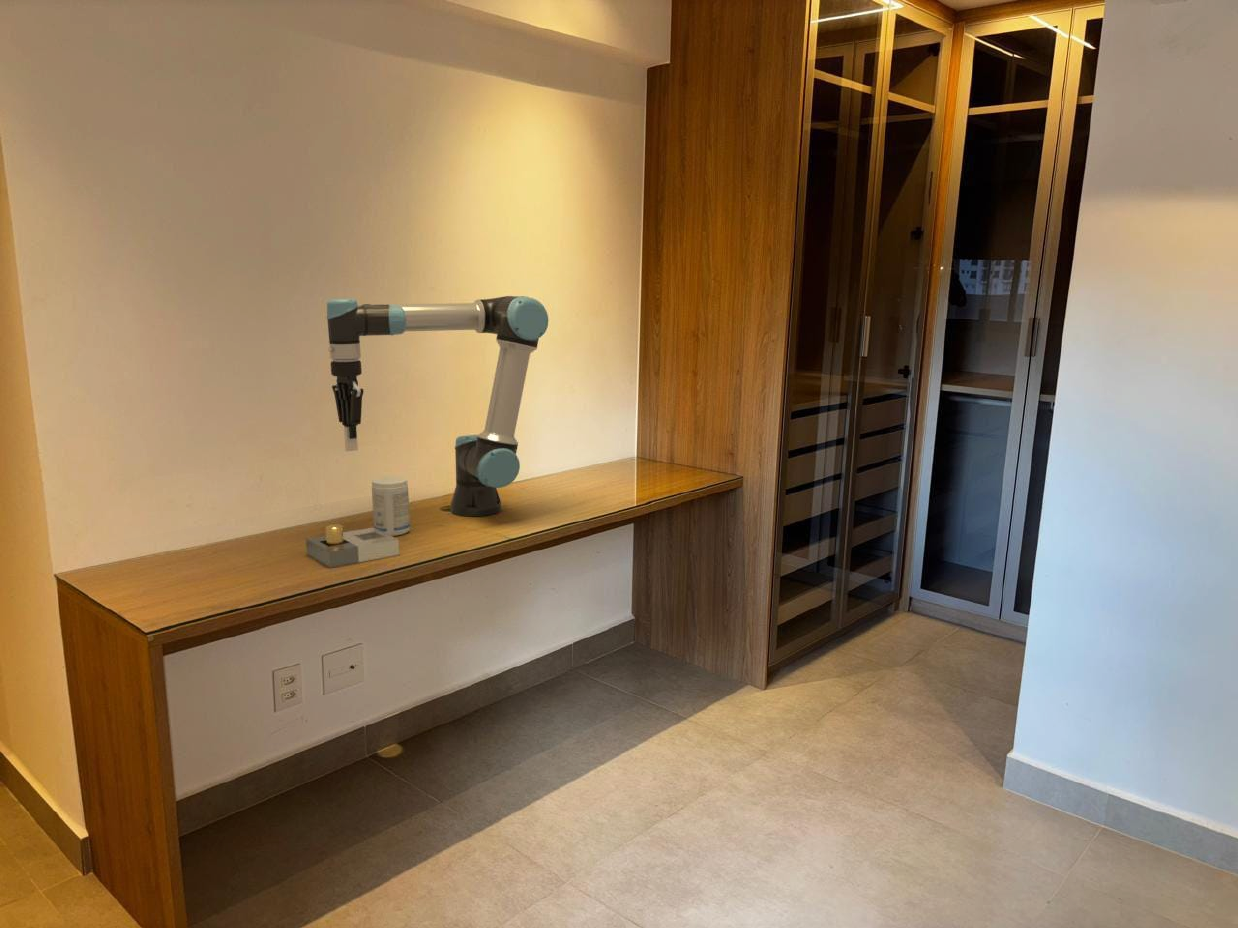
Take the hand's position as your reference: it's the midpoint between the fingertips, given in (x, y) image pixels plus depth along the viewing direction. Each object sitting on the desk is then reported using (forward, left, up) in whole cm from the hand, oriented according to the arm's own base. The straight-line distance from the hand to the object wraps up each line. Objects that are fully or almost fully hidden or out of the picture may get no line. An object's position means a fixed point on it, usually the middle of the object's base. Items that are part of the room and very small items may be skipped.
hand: (351, 450), depth 234 cm
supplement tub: (-10, +1, -24) cm, 26 cm away
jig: (+7, +14, -24) cm, 28 cm away
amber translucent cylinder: (+11, +14, -24) cm, 30 cm away
